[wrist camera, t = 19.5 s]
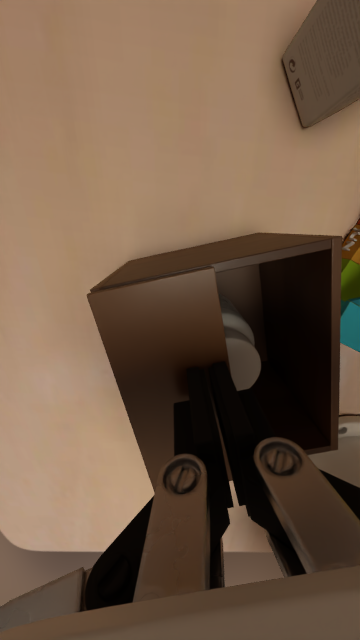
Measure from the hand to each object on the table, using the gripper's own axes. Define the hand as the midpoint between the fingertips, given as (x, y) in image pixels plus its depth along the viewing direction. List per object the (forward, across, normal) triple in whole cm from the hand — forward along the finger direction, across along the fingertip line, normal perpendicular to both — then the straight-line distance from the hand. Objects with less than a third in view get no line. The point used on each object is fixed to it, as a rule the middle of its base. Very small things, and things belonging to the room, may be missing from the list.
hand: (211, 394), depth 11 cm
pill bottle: (+10, -1, 0) cm, 10 cm away
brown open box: (+10, -1, 0) cm, 10 cm away
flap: (0, +1, 0) cm, 1 cm away
